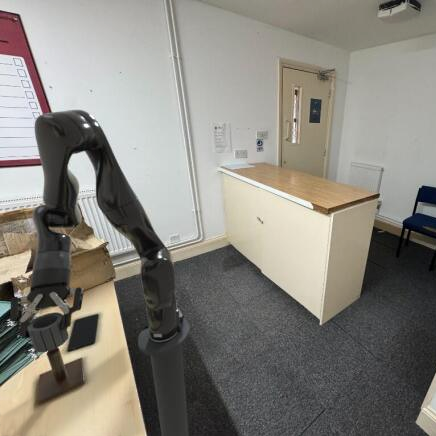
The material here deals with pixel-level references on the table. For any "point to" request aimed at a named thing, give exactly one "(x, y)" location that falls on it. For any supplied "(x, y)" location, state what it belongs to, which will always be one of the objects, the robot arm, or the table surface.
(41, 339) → the grey ribbed hollow cylinder
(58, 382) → the peg stand
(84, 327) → the smartphone
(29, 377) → the table surface
